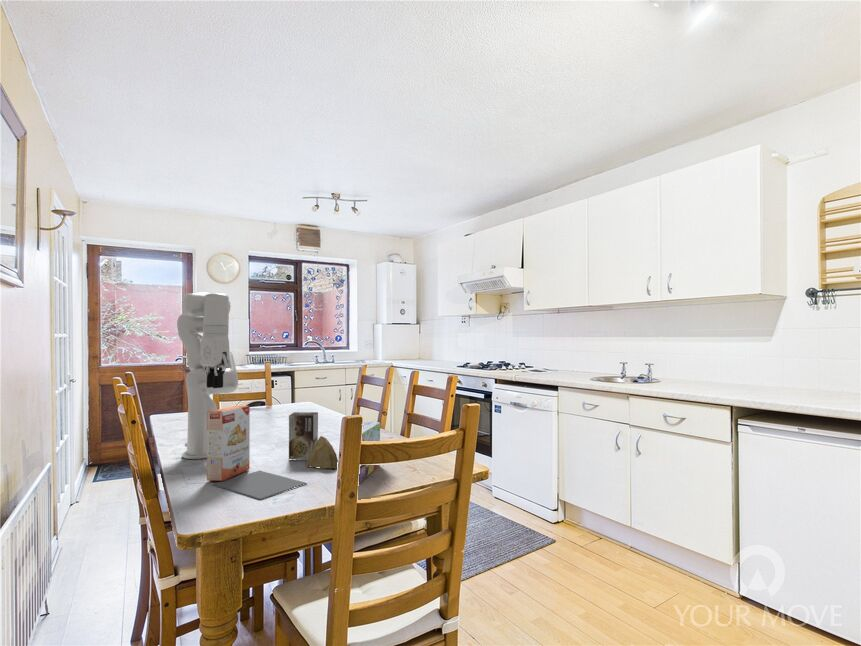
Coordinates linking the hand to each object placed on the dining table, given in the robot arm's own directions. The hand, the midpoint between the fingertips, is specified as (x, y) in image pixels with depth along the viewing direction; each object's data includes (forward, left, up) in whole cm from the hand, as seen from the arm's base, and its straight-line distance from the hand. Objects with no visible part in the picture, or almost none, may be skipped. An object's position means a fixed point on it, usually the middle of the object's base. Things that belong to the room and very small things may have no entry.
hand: (214, 387), depth 149 cm
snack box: (+42, +25, -27) cm, 56 cm away
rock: (+26, +23, -27) cm, 44 cm away
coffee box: (+12, +27, -27) cm, 40 cm away
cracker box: (+9, 0, -27) cm, 29 cm away
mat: (+24, 0, -27) cm, 36 cm away
